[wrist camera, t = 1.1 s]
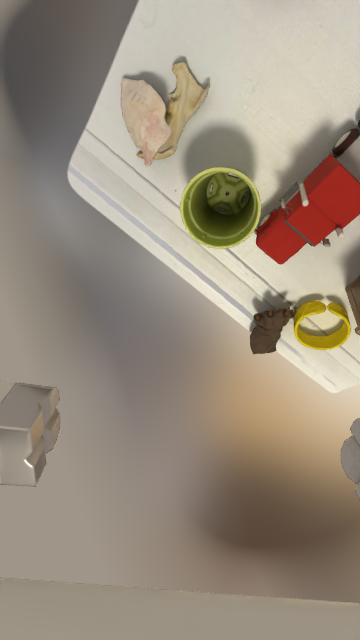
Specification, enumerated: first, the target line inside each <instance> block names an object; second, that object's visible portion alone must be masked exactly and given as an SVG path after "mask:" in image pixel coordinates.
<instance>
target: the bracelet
mask: <svg viewBox="0 0 360 640" xmlns="http://www.w3.org/2000/svg"><path fill="white" fill-rule="evenodd" d="M327 308H328V310H329V311H330V312H332V313H334V314H336V315H338V316H339V317H341V318H342V319H343V320H344V323H343V325H342V327H341V328H340V329H339V330H338V331H337V332H335V333H333V334H331V335H328V336H312V335H309V334H306V333H305V332H303V331H302V330H301V329H300V328H299V327H298V325H299V323H300V322H301V320H302V319H304V318H305V317H307V316H309V315H312V314H318V313H322V312H324V311H325V310H326V306H325V304H324V303H322V302H320V301H310V302H307V303H305V304H303V305H302V306H300V307H299V308H298V309H297V311H296V314H295V315H294V333H295V336H296V338H297V340H298V341H299V342H300V343H301V344H303V345H304V346H306V347H309V348H313V349H318V350H328V349H333V348H336V347H338V346H340V345H342V344H343V343H344V342H345V341H346V340H347V339H348V337H349V335H350V331H351V328H350V323H349V320H348V316H347V313H346V311H345V309H344V308H343V307H342V306H341V305H339V304H337V303H330V304H328V307H327Z"/></svg>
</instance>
